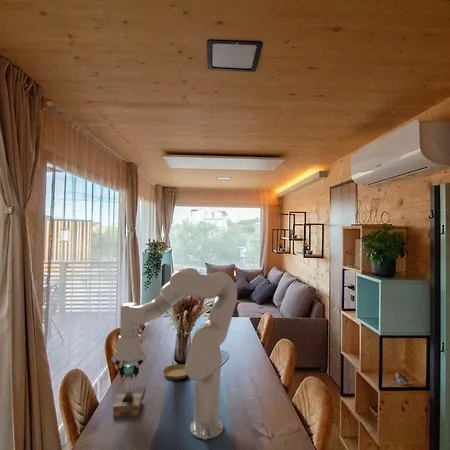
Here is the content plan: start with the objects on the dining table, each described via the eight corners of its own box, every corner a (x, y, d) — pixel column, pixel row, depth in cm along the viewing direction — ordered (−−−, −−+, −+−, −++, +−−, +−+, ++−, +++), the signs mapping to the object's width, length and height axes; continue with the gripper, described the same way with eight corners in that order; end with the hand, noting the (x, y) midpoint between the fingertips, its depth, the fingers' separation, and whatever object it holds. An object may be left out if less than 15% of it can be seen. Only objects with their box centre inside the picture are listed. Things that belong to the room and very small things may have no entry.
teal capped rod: (135, 398, 139) (136, 363, 139) (134, 404, 134) (134, 368, 134) (123, 399, 138) (124, 363, 138) (121, 405, 133) (122, 368, 133)
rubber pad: (142, 398, 144) (142, 397, 144) (119, 399, 143) (119, 398, 143) (145, 387, 154) (145, 386, 154) (123, 388, 153) (123, 387, 153)
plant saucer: (164, 383, 160) (164, 377, 160) (161, 370, 174) (161, 365, 174) (193, 379, 164) (193, 374, 164) (188, 367, 178) (188, 363, 178)
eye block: (138, 415, 131) (138, 405, 132) (113, 416, 130) (113, 406, 130) (141, 402, 141) (141, 393, 141) (118, 403, 140) (118, 394, 140)
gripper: (151, 329, 141) (150, 371, 141) (110, 330, 139) (110, 373, 139) (149, 334, 134) (148, 378, 133) (106, 336, 132) (106, 381, 131)
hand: (129, 375), depth 136 cm, fingers closed on teal capped rod, 5 cm apart
